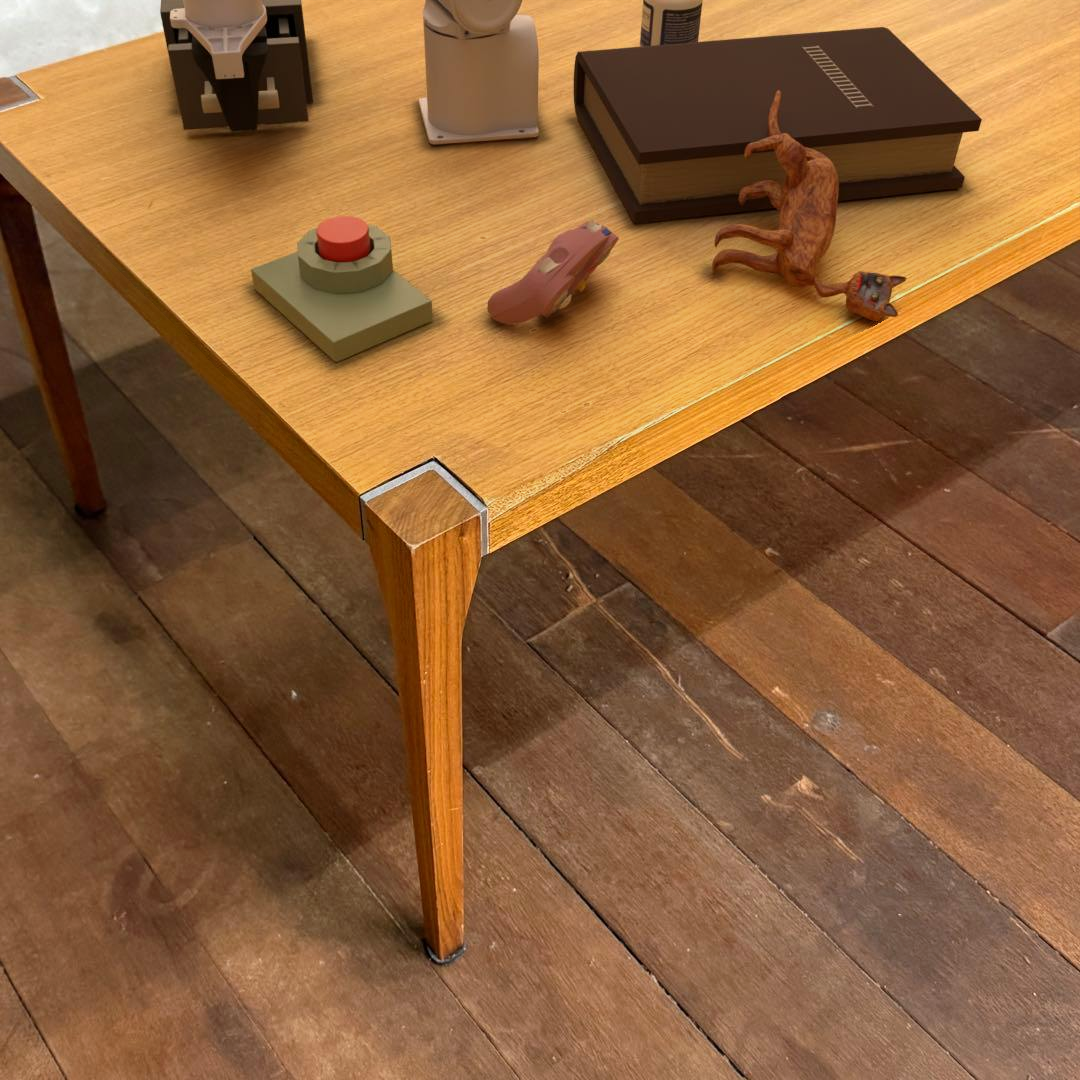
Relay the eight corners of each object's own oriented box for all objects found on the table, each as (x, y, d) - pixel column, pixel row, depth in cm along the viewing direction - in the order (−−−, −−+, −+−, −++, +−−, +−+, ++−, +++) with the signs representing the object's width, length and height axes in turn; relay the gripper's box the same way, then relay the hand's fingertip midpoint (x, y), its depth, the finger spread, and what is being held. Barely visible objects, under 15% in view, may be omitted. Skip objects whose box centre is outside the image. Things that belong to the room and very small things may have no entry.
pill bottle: (705, 64, 115) (718, -43, 108) (678, 85, 112) (690, -24, 105) (655, 50, 117) (664, -56, 110) (627, 70, 114) (635, -38, 107)
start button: (309, 248, 86) (306, 226, 84) (352, 231, 87) (350, 209, 86) (336, 270, 84) (334, 248, 82) (380, 253, 85) (378, 231, 84)
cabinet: (313, 102, 108) (301, 4, 102) (179, 111, 106) (159, 12, 100) (305, 43, 116) (294, -51, 110) (182, 50, 115) (163, -45, 109)
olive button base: (254, 289, 87) (246, 246, 85) (356, 249, 91) (352, 207, 89) (335, 363, 81) (330, 319, 79) (441, 317, 85) (439, 274, 83)
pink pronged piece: (526, 356, 85) (568, 295, 79) (477, 313, 85) (515, 249, 79) (596, 290, 91) (640, 228, 85) (551, 249, 91) (591, 185, 85)
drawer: (311, 145, 100) (301, 65, 96) (183, 154, 99) (166, 73, 94) (301, 63, 111) (292, -13, 106) (185, 70, 110) (171, -6, 105)
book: (864, 83, 112) (878, 18, 108) (961, 187, 99) (981, 119, 95) (572, 109, 107) (575, 43, 103) (633, 223, 94) (639, 152, 90)
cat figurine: (767, 56, 90) (953, 91, 88) (759, 117, 96) (932, 151, 94) (707, 256, 84) (904, 299, 82) (702, 307, 90) (885, 348, 88)
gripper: (160, -83, 92) (193, 90, 102) (154, -8, 82) (191, 175, 92) (254, -87, 93) (278, 84, 103) (260, -14, 83) (286, 168, 93)
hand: (243, 127), depth 97 cm, fingers closed
